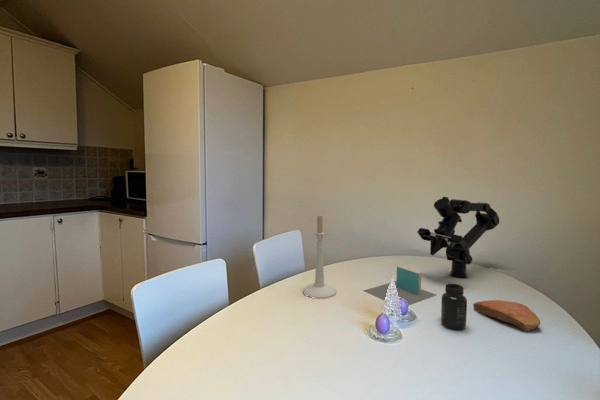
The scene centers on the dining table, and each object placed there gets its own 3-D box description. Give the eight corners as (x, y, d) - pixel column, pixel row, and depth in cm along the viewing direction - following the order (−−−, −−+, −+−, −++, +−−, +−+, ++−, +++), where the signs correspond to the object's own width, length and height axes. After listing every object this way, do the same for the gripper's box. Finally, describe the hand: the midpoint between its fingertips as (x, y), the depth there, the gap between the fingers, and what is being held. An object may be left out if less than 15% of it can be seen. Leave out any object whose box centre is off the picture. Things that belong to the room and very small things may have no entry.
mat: (398, 281, 130) (398, 280, 130) (437, 296, 115) (437, 295, 115) (362, 291, 119) (362, 290, 119) (401, 309, 104) (401, 308, 104)
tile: (398, 285, 124) (399, 266, 124) (420, 293, 116) (421, 273, 115) (396, 286, 123) (396, 266, 123) (418, 294, 115) (418, 273, 114)
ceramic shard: (494, 313, 90) (471, 299, 105) (498, 336, 90) (474, 319, 105) (549, 308, 89) (518, 295, 104) (552, 332, 88) (521, 315, 103)
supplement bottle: (463, 321, 96) (465, 283, 95) (467, 332, 90) (470, 292, 88) (439, 318, 98) (441, 281, 97) (441, 328, 92) (443, 289, 91)
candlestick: (297, 295, 116) (297, 215, 113) (309, 284, 128) (309, 211, 125) (330, 301, 111) (331, 217, 108) (340, 288, 123) (340, 212, 120)
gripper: (477, 239, 127) (461, 271, 122) (435, 231, 142) (419, 259, 138) (468, 223, 121) (450, 256, 117) (425, 216, 137) (408, 245, 132)
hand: (431, 254), depth 126 cm, fingers closed
